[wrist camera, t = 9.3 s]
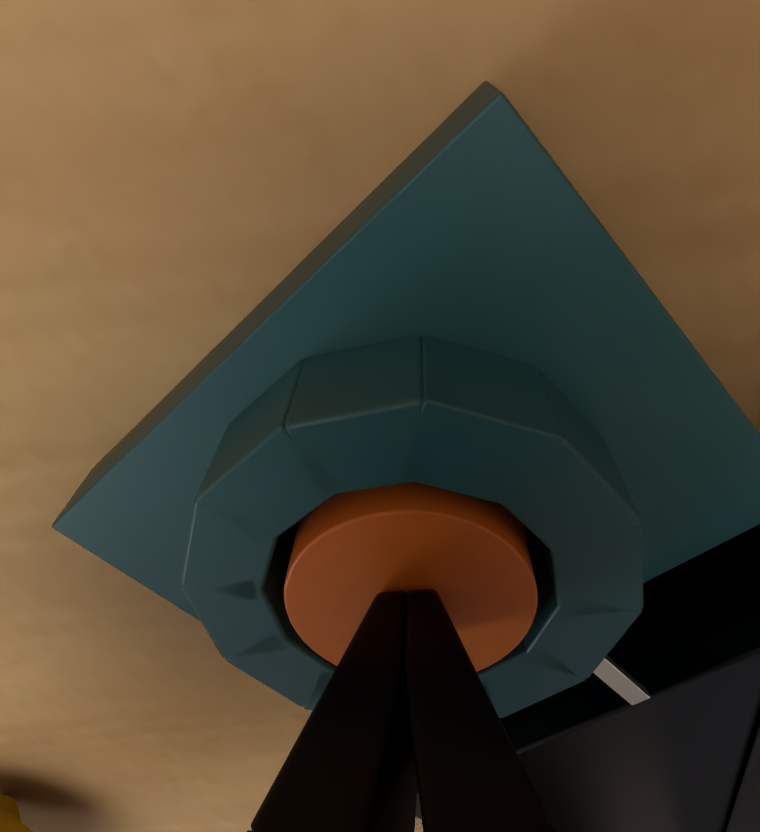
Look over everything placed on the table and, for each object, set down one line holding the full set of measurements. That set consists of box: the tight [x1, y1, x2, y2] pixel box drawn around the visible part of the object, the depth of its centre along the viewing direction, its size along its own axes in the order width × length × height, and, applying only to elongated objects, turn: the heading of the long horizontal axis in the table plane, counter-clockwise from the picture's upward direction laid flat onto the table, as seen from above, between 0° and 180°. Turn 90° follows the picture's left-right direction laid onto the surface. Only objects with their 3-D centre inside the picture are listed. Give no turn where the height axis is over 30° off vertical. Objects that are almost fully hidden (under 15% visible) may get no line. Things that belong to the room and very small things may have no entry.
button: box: [284, 481, 538, 672], centre depth 9 cm, size 4×4×2 cm
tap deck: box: [415, 524, 760, 832], centre depth 14 cm, size 13×13×3 cm
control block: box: [52, 81, 760, 718], centre depth 10 cm, size 10×8×4 cm
